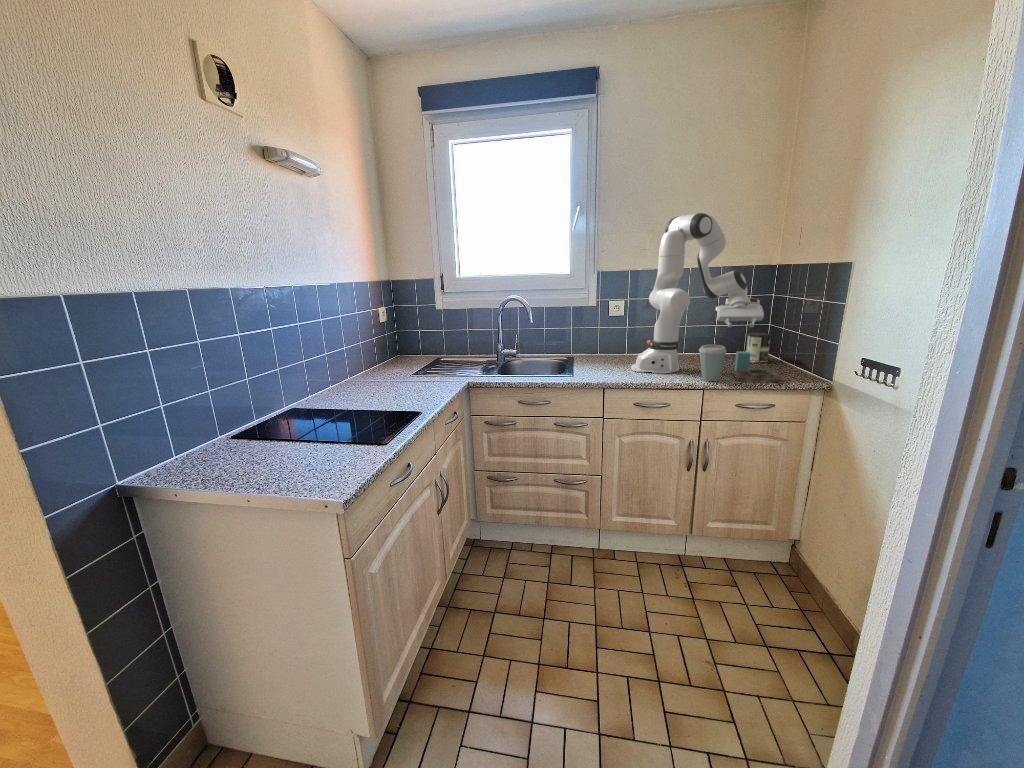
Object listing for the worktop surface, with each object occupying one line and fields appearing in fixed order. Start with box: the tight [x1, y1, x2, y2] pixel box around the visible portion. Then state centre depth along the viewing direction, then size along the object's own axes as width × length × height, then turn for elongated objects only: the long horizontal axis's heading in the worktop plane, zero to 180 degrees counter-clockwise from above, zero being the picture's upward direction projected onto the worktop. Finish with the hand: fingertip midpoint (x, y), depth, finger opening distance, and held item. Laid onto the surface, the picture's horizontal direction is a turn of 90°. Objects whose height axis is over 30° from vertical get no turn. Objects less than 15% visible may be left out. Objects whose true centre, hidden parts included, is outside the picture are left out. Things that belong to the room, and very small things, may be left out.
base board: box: [731, 368, 788, 383], centre depth 178 cm, size 18×13×3 cm
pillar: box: [733, 350, 751, 371], centre depth 190 cm, size 5×5×9 cm
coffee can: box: [745, 331, 772, 363], centre depth 209 cm, size 10×10×14 cm
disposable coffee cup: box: [698, 343, 727, 382], centre depth 176 cm, size 11×11×15 cm
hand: (740, 326), depth 197 cm, fingers open, 8 cm apart
